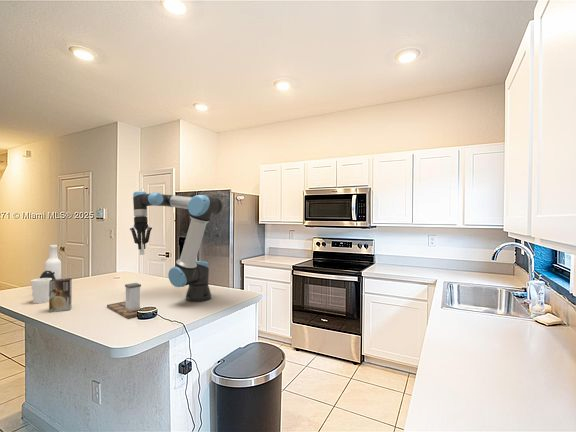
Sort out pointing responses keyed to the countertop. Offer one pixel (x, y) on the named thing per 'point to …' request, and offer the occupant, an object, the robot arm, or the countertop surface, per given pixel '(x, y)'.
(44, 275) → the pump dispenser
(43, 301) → the foam cup
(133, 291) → the silver square canister
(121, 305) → the rail board
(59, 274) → the alcohol
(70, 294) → the coffee box
